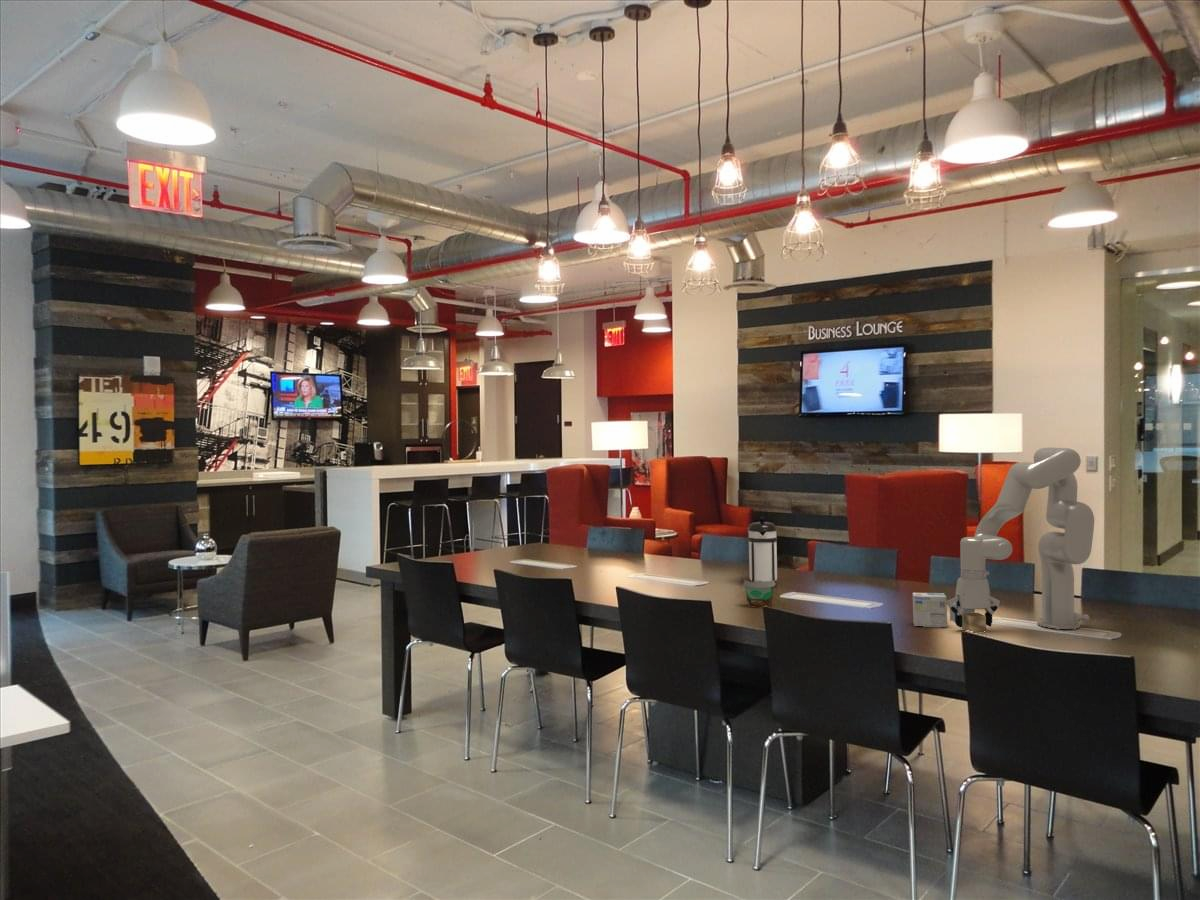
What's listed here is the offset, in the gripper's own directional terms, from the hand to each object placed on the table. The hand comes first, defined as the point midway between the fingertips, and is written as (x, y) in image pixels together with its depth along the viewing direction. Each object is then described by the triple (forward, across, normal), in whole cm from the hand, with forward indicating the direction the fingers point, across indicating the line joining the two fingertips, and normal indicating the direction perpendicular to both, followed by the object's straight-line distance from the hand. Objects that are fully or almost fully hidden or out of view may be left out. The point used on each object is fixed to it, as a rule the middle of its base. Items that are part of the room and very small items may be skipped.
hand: (973, 625), depth 278 cm
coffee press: (+2, +51, -93) cm, 106 cm away
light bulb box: (+2, +11, -9) cm, 14 cm away
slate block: (+2, -2, -13) cm, 13 cm away
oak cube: (+2, 0, 0) cm, 2 cm away
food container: (+2, +62, -46) cm, 77 cm away
